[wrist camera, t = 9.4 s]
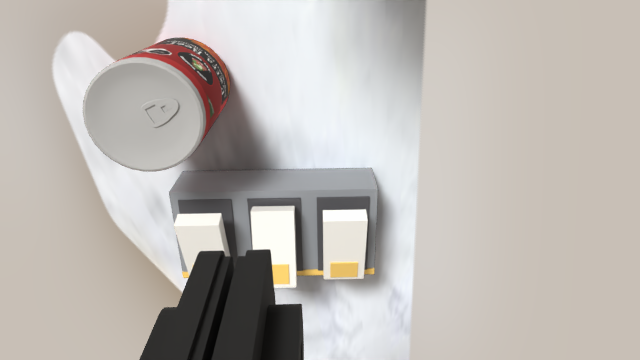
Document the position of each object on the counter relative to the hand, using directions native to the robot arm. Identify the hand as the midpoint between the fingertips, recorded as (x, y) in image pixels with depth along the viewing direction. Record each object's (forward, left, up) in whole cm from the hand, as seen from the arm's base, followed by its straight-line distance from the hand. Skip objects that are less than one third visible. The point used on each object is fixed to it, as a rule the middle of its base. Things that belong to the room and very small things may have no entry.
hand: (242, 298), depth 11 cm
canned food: (+1, -9, -31) cm, 32 cm away
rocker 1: (+14, -8, -24) cm, 29 cm away
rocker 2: (+14, -2, -24) cm, 28 cm away
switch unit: (+14, -2, -31) cm, 34 cm away
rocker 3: (+14, +4, -24) cm, 28 cm away
